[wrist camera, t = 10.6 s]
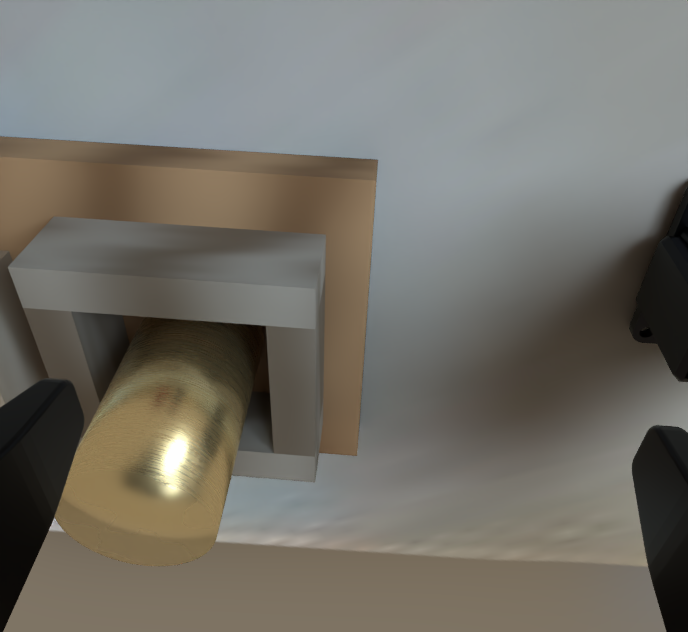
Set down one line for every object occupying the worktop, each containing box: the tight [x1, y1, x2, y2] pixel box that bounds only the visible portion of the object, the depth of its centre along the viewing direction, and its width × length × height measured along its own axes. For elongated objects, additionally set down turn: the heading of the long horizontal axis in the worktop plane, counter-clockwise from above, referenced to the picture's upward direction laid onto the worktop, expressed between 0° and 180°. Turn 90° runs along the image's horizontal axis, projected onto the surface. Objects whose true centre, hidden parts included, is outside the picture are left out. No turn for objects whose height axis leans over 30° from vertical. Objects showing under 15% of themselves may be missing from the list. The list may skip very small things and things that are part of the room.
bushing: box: [55, 317, 264, 566], centre depth 20 cm, size 4×4×8 cm
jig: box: [0, 137, 378, 482], centre depth 22 cm, size 18×13×4 cm
